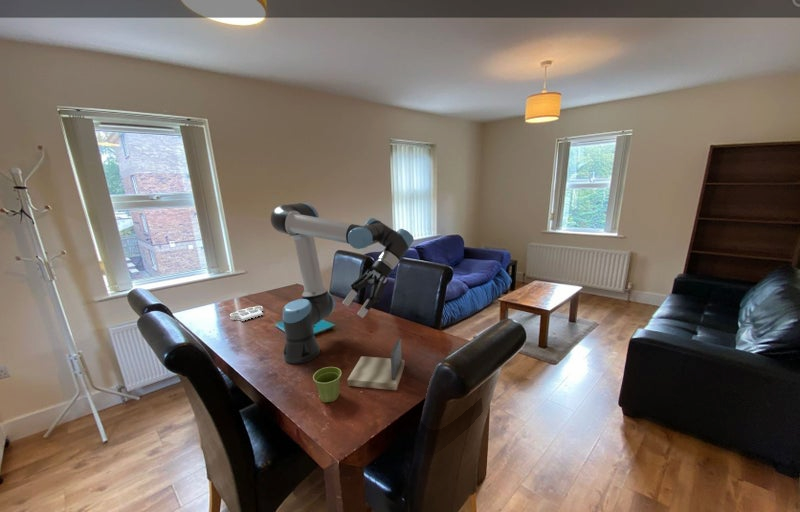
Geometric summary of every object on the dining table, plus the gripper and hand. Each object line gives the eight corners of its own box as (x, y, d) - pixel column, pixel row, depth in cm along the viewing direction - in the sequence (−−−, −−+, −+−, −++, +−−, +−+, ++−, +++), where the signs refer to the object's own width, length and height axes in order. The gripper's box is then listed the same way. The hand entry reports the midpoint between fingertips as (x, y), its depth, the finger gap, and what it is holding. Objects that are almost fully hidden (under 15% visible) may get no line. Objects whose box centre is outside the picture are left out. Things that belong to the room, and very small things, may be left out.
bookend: (391, 380, 110) (390, 354, 108) (398, 361, 122) (397, 338, 120) (395, 380, 110) (393, 354, 108) (401, 362, 121) (400, 338, 119)
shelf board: (347, 385, 112) (347, 379, 111) (361, 361, 127) (361, 356, 127) (396, 390, 108) (396, 383, 108) (404, 365, 124) (404, 359, 123)
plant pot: (329, 410, 100) (327, 386, 98) (309, 400, 105) (307, 377, 103) (349, 393, 107) (347, 371, 106) (329, 385, 112) (327, 364, 111)
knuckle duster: (236, 325, 169) (227, 318, 179) (268, 315, 181) (259, 309, 191) (235, 319, 168) (226, 312, 178) (268, 309, 181) (258, 304, 191)
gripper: (409, 276, 111) (374, 326, 106) (376, 264, 131) (345, 305, 127) (396, 264, 107) (359, 315, 102) (364, 253, 128) (332, 296, 123)
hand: (351, 310), depth 115 cm, fingers open, 13 cm apart
